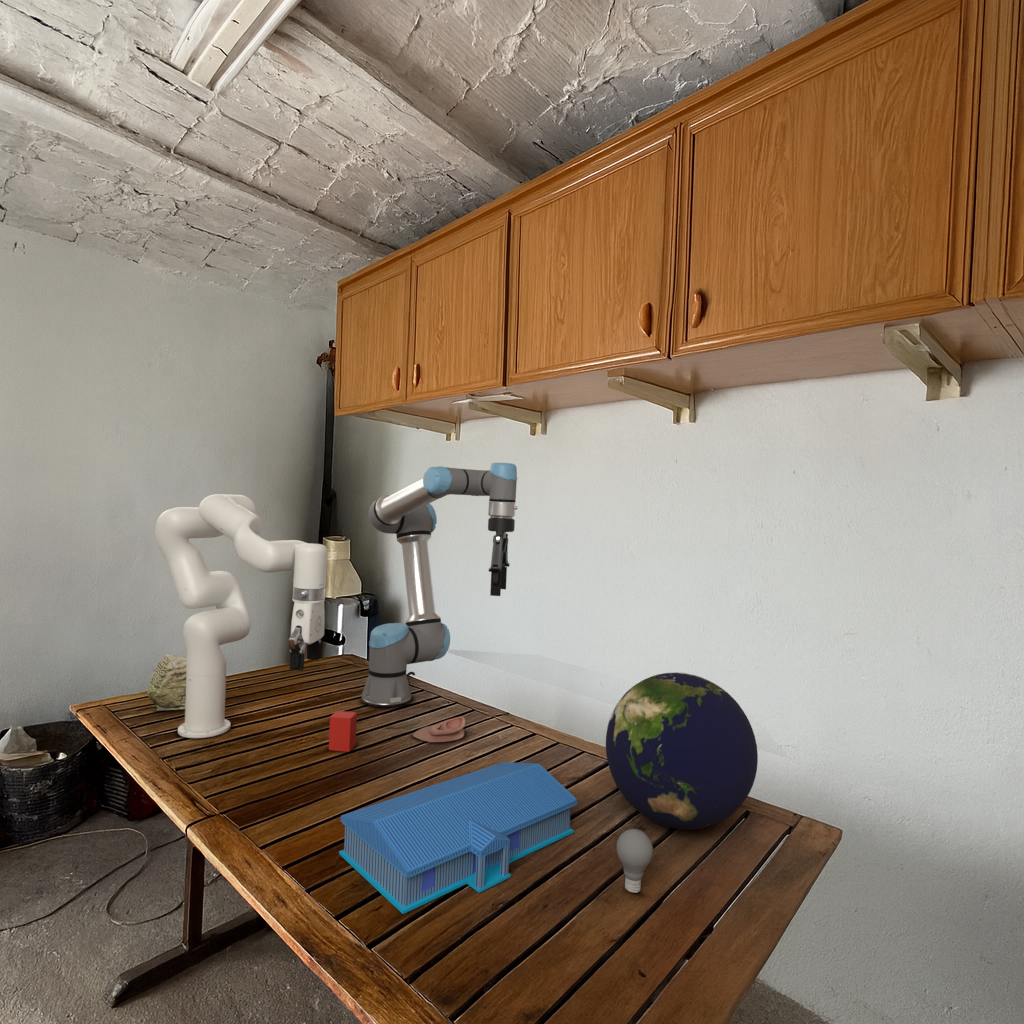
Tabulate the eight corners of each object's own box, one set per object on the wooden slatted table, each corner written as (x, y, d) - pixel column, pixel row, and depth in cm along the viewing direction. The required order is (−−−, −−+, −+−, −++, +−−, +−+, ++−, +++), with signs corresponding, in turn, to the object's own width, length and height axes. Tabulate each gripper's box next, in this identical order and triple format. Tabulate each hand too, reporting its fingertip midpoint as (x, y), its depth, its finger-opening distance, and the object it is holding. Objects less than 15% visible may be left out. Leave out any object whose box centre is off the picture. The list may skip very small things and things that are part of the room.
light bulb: (610, 879, 108) (613, 822, 108) (644, 879, 109) (647, 822, 109) (619, 902, 102) (622, 840, 102) (655, 901, 103) (658, 840, 103)
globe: (585, 837, 122) (592, 682, 121) (619, 777, 149) (625, 650, 149) (751, 879, 110) (760, 708, 110) (755, 805, 138) (762, 668, 138)
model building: (414, 925, 95) (417, 859, 95) (337, 852, 113) (340, 797, 113) (586, 839, 121) (589, 787, 121) (502, 791, 139) (504, 746, 139)
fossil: (144, 707, 182) (145, 655, 182) (212, 696, 194) (213, 647, 194) (151, 716, 175) (153, 662, 175) (221, 703, 188) (223, 653, 188)
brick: (328, 750, 158) (329, 716, 158) (335, 743, 163) (336, 710, 163) (349, 752, 158) (350, 718, 157) (355, 744, 162) (357, 712, 162)
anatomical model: (408, 724, 167) (423, 710, 178) (408, 739, 167) (423, 724, 178) (457, 730, 164) (469, 716, 175) (456, 745, 164) (468, 730, 175)
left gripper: (309, 601, 145) (305, 675, 145) (336, 590, 162) (332, 656, 162) (278, 599, 145) (273, 672, 146) (308, 588, 163) (304, 654, 163)
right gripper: (510, 519, 166) (506, 599, 167) (518, 517, 191) (515, 587, 192) (482, 517, 167) (478, 598, 168) (494, 516, 192) (491, 585, 192)
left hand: (304, 664), depth 154 cm, fingers open, 9 cm apart
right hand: (498, 592), depth 180 cm, fingers open, 13 cm apart
